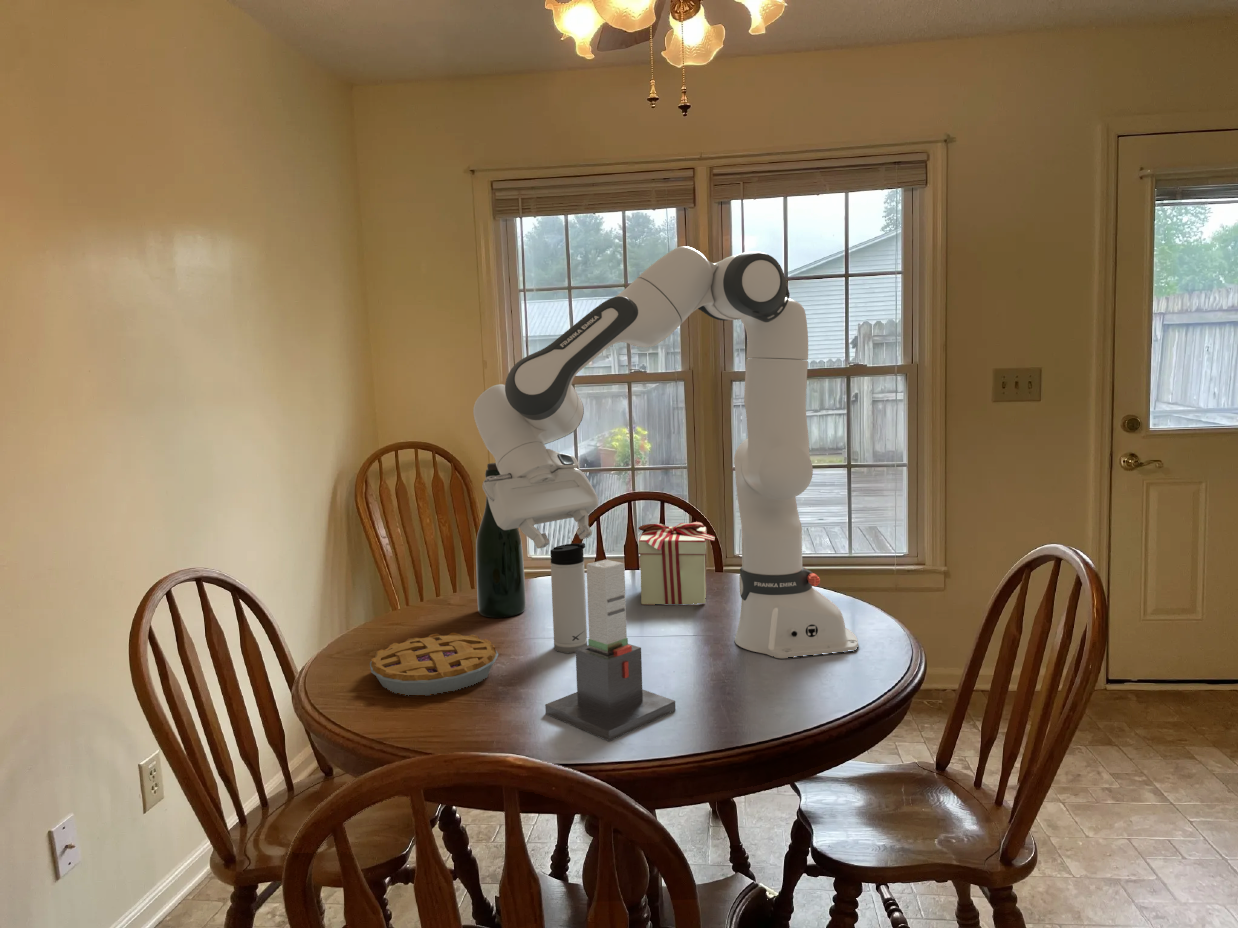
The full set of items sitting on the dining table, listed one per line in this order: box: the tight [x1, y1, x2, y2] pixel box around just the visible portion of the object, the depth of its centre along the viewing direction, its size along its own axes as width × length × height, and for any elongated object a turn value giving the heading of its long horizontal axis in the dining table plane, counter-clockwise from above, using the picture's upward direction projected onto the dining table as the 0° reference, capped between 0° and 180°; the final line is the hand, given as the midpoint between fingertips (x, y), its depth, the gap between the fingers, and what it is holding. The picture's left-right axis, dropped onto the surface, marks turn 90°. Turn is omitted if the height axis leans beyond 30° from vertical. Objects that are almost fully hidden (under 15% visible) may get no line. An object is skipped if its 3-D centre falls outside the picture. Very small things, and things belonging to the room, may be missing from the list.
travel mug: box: [549, 542, 588, 654], centre depth 153 cm, size 6×7×20 cm
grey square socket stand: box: [544, 643, 677, 742], centre depth 123 cm, size 14×14×11 cm
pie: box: [369, 632, 499, 697], centre depth 142 cm, size 22×22×5 cm
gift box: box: [637, 521, 716, 606], centre depth 184 cm, size 17×18×17 cm
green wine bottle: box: [475, 462, 527, 619], centre depth 177 cm, size 10×10×33 cm
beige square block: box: [585, 559, 629, 657], centre depth 122 cm, size 4×4×17 cm
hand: (566, 541), depth 131 cm, fingers open, 8 cm apart
